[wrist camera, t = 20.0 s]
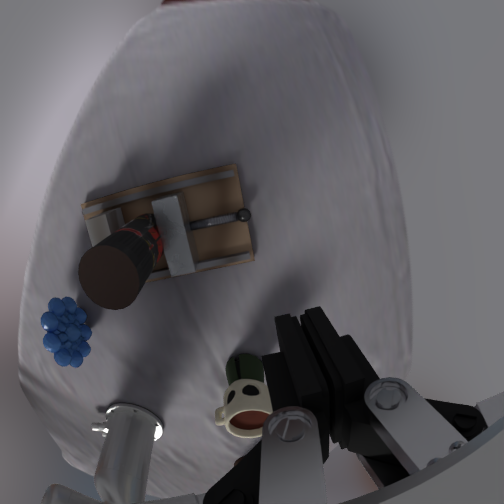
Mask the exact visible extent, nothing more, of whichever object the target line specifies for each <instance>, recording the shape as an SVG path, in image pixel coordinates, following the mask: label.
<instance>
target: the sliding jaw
mask: <svg viewBox="0 0 504 504" xmlns="http://www.w3.org/2000/svg"><path fill="white" fill-rule="evenodd" d="M151 203H152V207H153V211H154V215H155V219H156V223H157V227H158V231H159V235H160V238H161V242H162V246H163V249H164V253H165V257H166V260H167V264H168V267H169V270H170V274H171V277H173V276H178V275H183V274H188V273H193V272H196V269H197V265H198V261H199V255H198V251H197V247H196V243H195V239H194V235H193V231H194V230H198V229H203V228H208V227H212V226H217V225H222V224H227V223H232V222H236V221H238V220H239V221H240V222H247V221H248V220H249V219H250V217H251V213H250V211H249V210H248V209H246V208H241V209H239V210H238V211H237V212H233V213H228V214H223V215H218V216H213V217H209V218H204V219H200V220H195V221H190V218H189V214H188V210H187V205H186V201H185V196H184V192H183V191H182V192H178V193H174V194H169V195H165V196H161V197H159V198H157V199H156V200H154V201H152V202H151Z"/></svg>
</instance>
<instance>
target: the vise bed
mask: <svg viewBox="0 0 504 504" xmlns="http://www.w3.org/2000/svg"><path fill="white" fill-rule="evenodd" d="M182 191H183V192H184V196H185V201H186V205H187V210H188V214H189V218H190V221H195V220H200V219H204V218H209V217H213V216H218V215H223V214H228V213H233V212H237V211H238V210H239V209H241V208H244V203H243V198H242V193H241V188H240V182H239V177H238V172H237V167H236V164H231V165H226V166H221V167H217V168H212V169H207V170H203V171H198V172H194V173H189V174H185V175H181V176H177V177H173V178H169V179H165V180H161V181H157V182H153V183H150V184H146V185H142V186H139V187H135V188H132V189H128V190H125V191H121V192H118V193H115V194H111V195H108V196H105V197H102V198H99V199H95V200H92V201H89V202H86V203H83V204H81V207H82V213H83V215H84V219H85V223H86V226H87V230H88V233H89V237H90V240H91V244H92V247H93V246H95V245H96V244H98V243H99V242H101V241H102V240H103V239H105V238H106V237H108V236H109V235H111V234H112V233H113V232H115V231H116V230H118V229H119V228H121V227H122V226H124V225H125V224H127V223H128V222H130V221H131V220H133V219H134V218H136V217H138V216H139V215H142V214H145V213H152V214H154V211H153V207H152V203H151V202H152V201H154V200H156V199H157V198H159V197H161V196H165V195H169V194H174V193H178V192H182ZM193 235H194V239H195V243H196V247H197V251H198V255H199V261H198V265H197V269H196V272H201V271H206V270H211V269H216V268H221V267H226V266H231V265H236V264H240V263H245V262H250V261H255V260H254V255H253V250H252V244H251V239H250V234H249V229H248V224H247V222H240V221H239V220H238V221H236V222H232V223H227V224H222V225H217V226H212V227H208V228H203V229H198V230H194V231H193ZM196 272H193V273H196ZM188 274H191V273H188ZM183 275H186V274H183ZM178 276H181V275H178ZM173 277H176V276H173ZM166 278H171V274H170V270H169V267H168V264H167V260H166V257H165V253H163V255H162V256H161V258H160V260H159V261H158V263H157V264H156V266H155V268H154V269H153V271H152V272H151V274H150V276H149V277H148V279H147V280H146V282H151V281H156V280H161V279H166ZM146 282H145V283H146Z"/></svg>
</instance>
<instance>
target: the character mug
mask: <svg viewBox="0 0 504 504" xmlns="http://www.w3.org/2000/svg"><path fill="white" fill-rule="evenodd" d="M226 375H227V380H228V383H229V387H228V388H227V390H226V391H225V394H224V398H223V399H224V406H223V407H220V408H217V409H216V410H215V423H216V425H224V424H225V426H226V428H227V430H228V432H230V433H231V434H233V435H234V436H238V437H242V438H255V437H260V436H262V428H263V423H264V421H265V420H266V418H267V417H268V416H269V415H270V414H271V413H273V410H272V405H271V400H270V395H269V391H268V387H267V386H266V385H265V384H264V368H263V364H262V362H261V361H260V360H259V359H258V357H256V356H253V355H251V354H240V355H239V360H237V361H236V362H235V360H234V357H232V358H231V359H230V360H229V361H228V362H227V365H226ZM222 413H224V418H222V417H221V414H222Z"/></svg>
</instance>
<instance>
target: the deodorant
mask: <svg viewBox="0 0 504 504" xmlns="http://www.w3.org/2000/svg"><path fill="white" fill-rule="evenodd" d="M163 253H164V249H163V246H162V242H161V238H160V235H159V231H158V227H157V223H156V219H155V215H154V214H152V213H145V214H142V215H139V216H138V217H136V218H134V219H133V220H131V221H130V222H128V223H127V224H125V225H124V226H122V227H121V228H119V229H118V230H116V231H115V232H113V233H112V234H111V235H109V236H108V237H106V238H105V239H103V240H102V241H101V242H99V243H98V244H96V245H95V246H93V247H92V248H91V249H89V250H88V251H87V252H86V253H85V254H84V255H83V257H82V259H81V261H80V264H79V271H78V273H79V280H80V283H81V286H82V288H83V290H84V291H85V293H86V295H87V296H88V297H89V298H90V299H91V300H92V301H93V302H94V303H96V304H97V305H99V306H101V307H104V308H106V309H112V310H118V309H123V308H125V307H127V306H129V305H130V304H131V303H132V302H133V301H134V300H135V299H136V297H137V295H138V294H139V292H140V290H141V289H142V287H143V285H144V284H145V282H146V280H147V279H148V277H149V276H150V274H151V272H152V271H153V269H154V268H155V266H156V264H157V263H158V261H159V260H160V258H161V256H162V255H163Z"/></svg>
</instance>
